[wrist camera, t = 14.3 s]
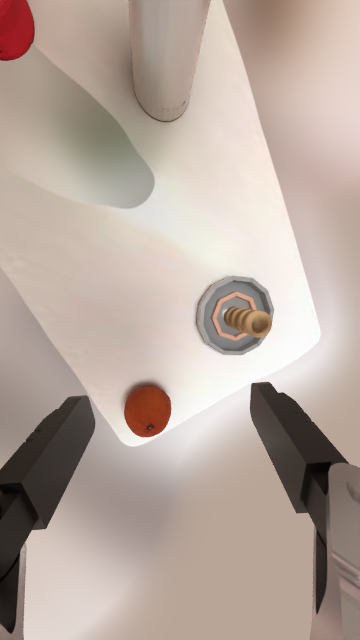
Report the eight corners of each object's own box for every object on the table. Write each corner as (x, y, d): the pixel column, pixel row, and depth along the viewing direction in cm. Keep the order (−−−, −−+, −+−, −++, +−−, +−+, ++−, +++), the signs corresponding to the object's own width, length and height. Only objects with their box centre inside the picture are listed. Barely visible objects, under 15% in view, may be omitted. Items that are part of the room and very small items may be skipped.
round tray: (184, 298, 36) (187, 298, 33) (251, 265, 37) (258, 263, 35) (213, 363, 39) (218, 368, 37) (274, 331, 41) (282, 333, 38)
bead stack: (220, 312, 37) (243, 318, 28) (238, 303, 37) (267, 306, 29) (228, 330, 38) (252, 342, 29) (245, 321, 38) (275, 330, 30)
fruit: (174, 407, 39) (181, 436, 31) (135, 423, 38) (132, 457, 30) (161, 372, 37) (165, 394, 30) (120, 388, 36) (113, 415, 28)
